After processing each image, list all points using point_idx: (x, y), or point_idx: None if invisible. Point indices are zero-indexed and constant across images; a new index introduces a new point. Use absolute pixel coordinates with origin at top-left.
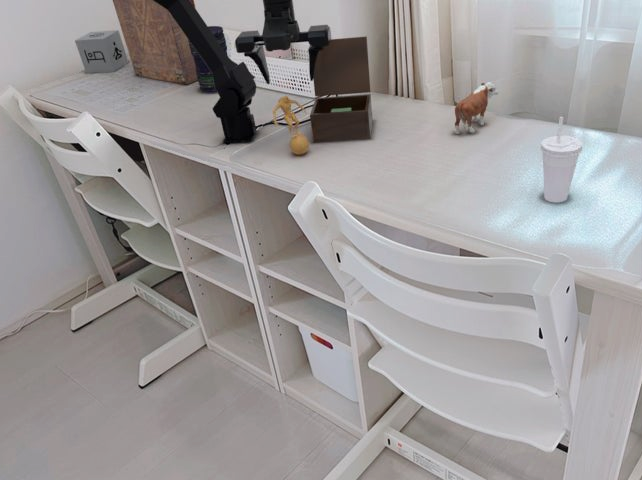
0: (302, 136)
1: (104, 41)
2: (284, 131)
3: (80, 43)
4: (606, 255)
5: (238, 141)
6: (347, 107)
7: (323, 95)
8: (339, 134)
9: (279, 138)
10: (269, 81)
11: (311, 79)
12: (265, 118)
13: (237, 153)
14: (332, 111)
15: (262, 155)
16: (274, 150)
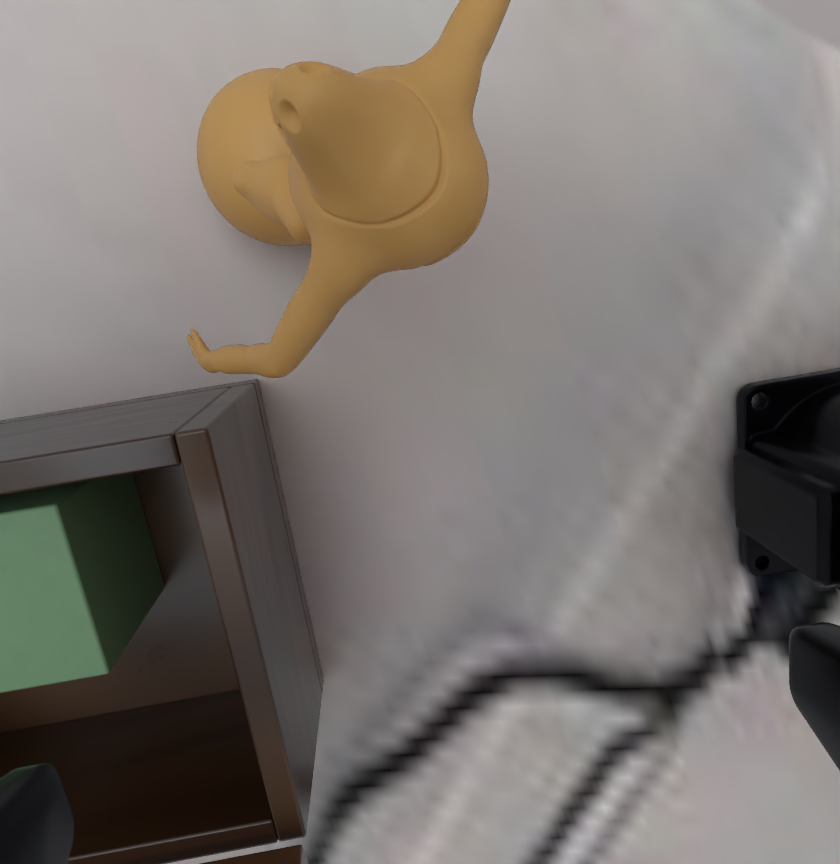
0: (230, 156)
1: None
2: (540, 570)
3: None
4: None
5: (828, 372)
6: None
7: (220, 861)
8: (34, 421)
9: (543, 454)
10: (806, 692)
11: (11, 775)
12: (728, 764)
13: (789, 189)
14: (74, 618)
15: (588, 149)
16: (520, 243)
